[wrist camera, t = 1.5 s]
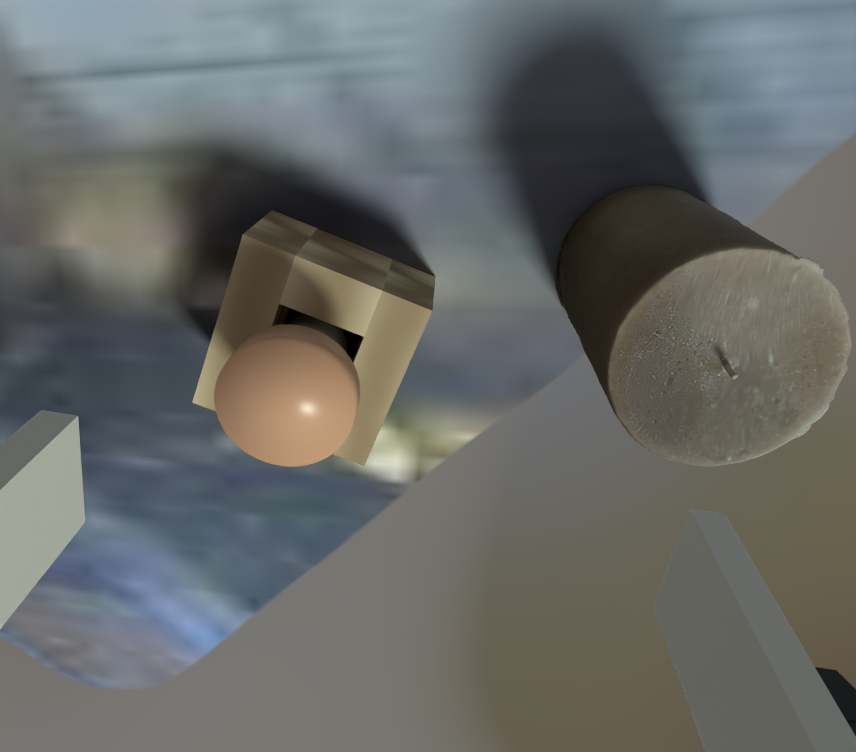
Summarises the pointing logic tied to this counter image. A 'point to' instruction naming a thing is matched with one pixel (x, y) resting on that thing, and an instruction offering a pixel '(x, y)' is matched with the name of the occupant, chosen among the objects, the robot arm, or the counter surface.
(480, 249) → the counter surface
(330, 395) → the knob
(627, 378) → the pillar candle
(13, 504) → the robot arm
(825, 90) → the counter surface
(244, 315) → the housing
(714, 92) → the counter surface
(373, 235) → the counter surface
